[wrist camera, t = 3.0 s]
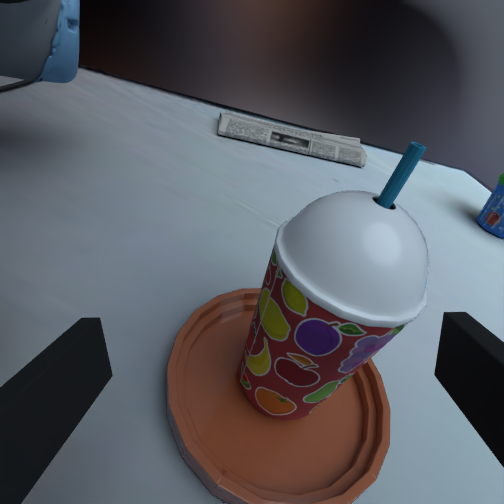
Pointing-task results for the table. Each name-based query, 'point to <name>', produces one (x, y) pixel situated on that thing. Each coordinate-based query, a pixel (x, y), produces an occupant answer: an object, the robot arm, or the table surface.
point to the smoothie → (334, 295)
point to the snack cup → (494, 211)
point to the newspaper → (293, 139)
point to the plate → (268, 420)
